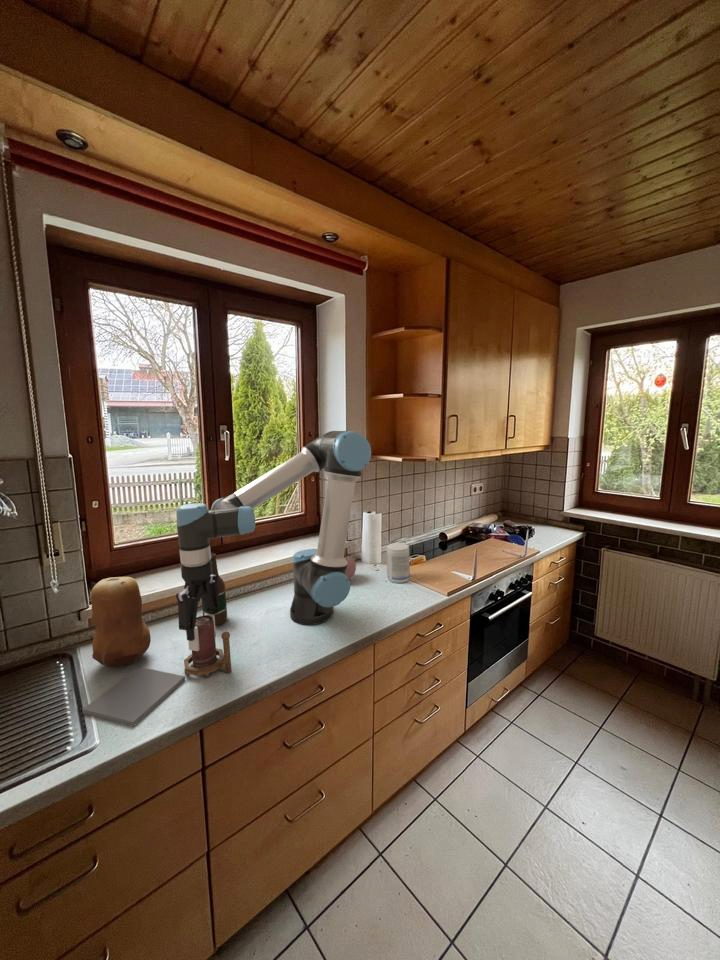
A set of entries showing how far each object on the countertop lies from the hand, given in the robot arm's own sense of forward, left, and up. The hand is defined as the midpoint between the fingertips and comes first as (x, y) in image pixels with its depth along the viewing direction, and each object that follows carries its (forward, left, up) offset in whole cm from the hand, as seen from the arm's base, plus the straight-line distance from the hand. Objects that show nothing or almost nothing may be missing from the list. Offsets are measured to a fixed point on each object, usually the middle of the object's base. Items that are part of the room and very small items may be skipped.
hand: (202, 642), depth 104 cm
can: (0, 0, -8) cm, 8 cm away
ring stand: (-2, 0, -7) cm, 8 cm away
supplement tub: (-41, -72, -8) cm, 83 cm away
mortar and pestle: (-18, -65, -8) cm, 68 cm away
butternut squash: (+24, +4, -8) cm, 25 cm away
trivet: (+9, +14, -7) cm, 18 cm away
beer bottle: (+13, -22, -8) cm, 27 cm away
